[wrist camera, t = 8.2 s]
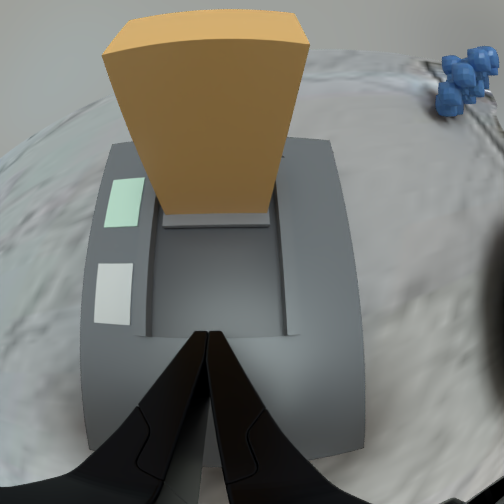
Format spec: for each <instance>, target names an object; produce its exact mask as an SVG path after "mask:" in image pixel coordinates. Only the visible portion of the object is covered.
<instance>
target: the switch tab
mask: <svg viewBox="0 0 504 504" xmlns="http://www.w3.org/2000/svg"><path fill="white" fill-rule="evenodd" d="M309 47H310V43H309V41H308V39H307V37H306V35H305V33H304V31H303V29H302V27H301V25H300V23H299V21H298V20H297V18H296V16H295V14H294V13H287V12H277V11H264V10H243V9H242V10H240V9H239V10H238V9H223V10H222V9H221V10H198V11H188V12H187V11H186V12H177V13H169V14H162V15H155V16H150V17H144V18H139V19H134V20H129V21H128V22H127V24H126V25H125V26H124V27H123V28H122V30H121V31H120V32H119V33H118V34H117V36H116V37H115V38H114V39H113V41H112V42H111V43H110V45H109V46H108V47H107V49H106V50H105V51H104V53H103V54H102V58H103V61H104V63H105V67H106V70H107V73H108V76H109V79H110V82H111V84H112V87H113V90H114V93H115V96H116V98H117V101H118V104H119V106H120V109H121V112H122V114H123V117H124V120H125V122H126V125H127V127H128V130H129V132H130V135H131V137H132V140H133V142H134V145H135V147H136V150H137V152H138V154H139V157H140V159H141V162H142V164H143V166H144V169H145V171H146V173H147V176H148V178H149V180H150V182H151V185H152V187H153V189H154V191H155V194H156V196H157V198H158V200H159V202H160V205H161V207H162V209H163V211H164V213H163V223H162V226H163V228H203V227H269V226H270V219H269V204H270V200H271V196H272V192H273V188H274V184H275V180H276V177H277V173H278V169H279V165H280V161H281V157H282V153H283V149H284V145H285V142H286V138H287V134H288V130H289V126H290V122H291V118H292V114H293V110H294V106H295V102H296V98H297V94H298V90H299V86H300V82H301V78H302V75H303V71H304V67H305V63H306V59H307V55H308V51H309Z"/></svg>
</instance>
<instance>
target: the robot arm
mask: <svg viewBox="0 0 504 504" xmlns="http://www.w3.org/2000/svg"><path fill="white" fill-rule="evenodd" d="M210 400H211V407H212V414H213V420H214V426H215V432H216V438H217V444H218V449H219V455H220V460H221V465H222V471H223V476H224V480H225V485H226V490H227V494H228V499H229V504H371V503H369V502H367V501H364V500H362V499H360V498H357V497H355V496H353V495H351V494H349V493H347V492H344V491H343V490H341V489H339V488H338V487H336V486H335V485H333V484H332V483H331V482H330V481H328V480H327V479H326V478H325V477H324V476H323V475H322V474H321V473H320V472H319V471H318V470H317V469H316V468H315V467H314V466H313V465H312V464H311V463H310V462H309V461H308V460H307V459H306V458H305V457H304V456H303V455H302V454H301V453H300V451H299V450H298V449H297V448H296V447H295V446H294V445H293V444H292V443H291V441H290V440H289V439H288V438H287V437H286V435H285V434H284V433H283V432H282V430H281V429H280V427H279V426H278V424H277V423H276V422H275V420H274V419H273V417H272V416H271V414H270V412H269V411H268V409H266V406H265V405H264V403H263V401H262V400H261V398H260V396H259V395H258V393H257V391H256V390H255V388H254V386H253V385H252V383H251V381H250V380H249V378H248V376H247V375H246V373H245V371H244V369H243V368H242V366H241V364H240V362H239V361H238V359H237V357H236V355H235V354H234V352H233V350H232V348H231V346H230V345H229V343H228V341H227V339H226V337H225V336H224V334H223V332H222V331H209V332H208V331H194V332H193V333H192V335H191V336H190V337H189V339H188V340H187V341H186V343H185V344H184V345H183V346H182V348H181V349H180V350H179V352H178V353H177V354H176V355H175V357H174V358H173V359H172V361H171V362H170V363H169V364H168V366H167V367H166V368H165V370H164V371H163V372H162V374H161V375H160V376H159V377H158V379H157V380H156V381H155V383H154V384H153V385H152V386H151V388H150V389H149V390H148V392H147V393H146V394H145V395H144V397H143V398H142V399H141V401H140V402H139V403H138V406H139V407H138V406H136V407H135V408H134V409H133V411H132V412H131V413H130V414H129V416H128V417H127V418H126V419H125V420H124V422H123V423H122V424H121V425H120V426H119V427H118V429H117V430H116V431H115V432H114V433H113V434H112V435H111V436H110V437H109V438H108V439H107V440H106V441H105V442H104V443H103V444H102V445H101V446H100V447H99V448H97V449H96V450H95V451H94V452H93V453H92V454H91V455H90V456H89V457H88V458H87V459H86V460H85V461H84V462H83V463H82V464H80V465H79V466H78V467H77V468H75V469H74V470H72V471H71V472H69V473H67V474H64V475H62V476H58V477H54V478H50V479H46V480H42V481H38V482H33V483H28V484H23V485H18V486H12V487H0V504H198V500H199V490H200V481H201V472H202V463H203V454H204V445H205V437H206V429H207V421H208V413H209V405H210ZM440 504H504V476H502V477H501V478H499V479H498V480H496V481H495V482H494V483H492V484H491V485H489V486H488V487H487V488H485V489H484V490H482V491H481V492H480V493H478V494H477V495H475V496H474V497H473V498H471V499H470V500H468V501H467V502H463V501H461V500H459V499H456V498H450V499H448V500H446V501H444V502H442V503H440Z"/></svg>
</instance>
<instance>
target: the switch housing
mask: <svg viewBox="0 0 504 504" xmlns="http://www.w3.org/2000/svg"><path fill="white" fill-rule="evenodd" d="M163 213H164V211H163V209H162V207H161V205H160V202H159V200H158V198H157V196H156V194H155V191H154V189H153V187H152V185H151V182H150V180H149V178H148V176H147V173H146V171H145V169H144V166H143V164H142V162H141V159H140V157H139V154H138V152H137V150H136V147H135V145H134V142H125V143H118V144H112V147H111V150H110V153H109V156H108V159H107V163H106V166H105V170H104V173H103V177H102V181H101V185H100V189H99V193H98V197H97V201H96V206H95V211H94V215H93V220H92V225H91V231H90V237H89V243H88V249H87V256H86V263H85V271H84V280H83V291H82V303H81V322H80V369H81V388H82V400H83V410H84V418H85V426H86V433H87V439H88V445H89V449H90V450H93V451H95V450H96V449H97V448H99V447H100V446H101V445H102V444H103V443H104V442H105V441H106V440H107V439H108V438H109V437H110V436H111V435H112V434H113V433H114V432H115V431H116V430H117V429H118V427H119V426H120V425H121V424H122V423H123V422H124V420H125V419H126V418H127V417H128V416H129V414H130V413H131V412H132V411H133V409H134V408H135V407H136V406H138V403H139V402H140V401H141V399H142V398H143V397H144V395H145V394H146V393H147V392H148V390H149V389H150V388H151V386H152V385H153V384H154V383H155V381H156V380H157V379H158V377H159V376H160V375H161V374H162V372H163V371H164V370H165V368H166V367H167V366H168V364H169V363H170V362H171V361H172V359H173V358H174V357H175V355H176V354H177V353H178V352H179V350H180V349H181V348H182V346H183V345H184V344H185V343H186V341H187V340H188V339H189V337H190V336H191V335H192V333H193V332H194V331H208V332H209V331H222V332H223V334H224V336H225V337H226V339H227V341H228V343H229V345H230V346H231V348H232V350H233V352H234V354H235V355H236V357H237V359H238V361H239V362H240V364H241V366H242V368H243V369H244V371H245V373H246V375H247V376H248V378H249V380H250V381H251V383H252V385H253V386H254V388H255V390H256V391H257V393H258V395H259V396H260V398H261V400H262V401H263V403H264V405H265V406H266V409H268V411H269V412H270V414H271V416H272V417H273V419H274V420H275V422H276V423H277V424H278V426H279V427H280V429H281V430H282V432H283V433H284V434H285V435H286V437H287V438H288V439H289V440H290V441H291V443H292V444H293V445H294V446H295V447H296V448H297V449H298V450H299V451H300V453H301V454H302V455H303V456H304V457H305V458H306V459H307V460H312V459H318V458H323V457H328V456H333V455H338V454H342V453H346V452H351V451H355V450H358V449H362V448H364V437H365V364H364V345H363V330H362V318H361V308H360V298H359V289H358V281H357V274H356V266H355V259H354V253H353V246H352V240H351V234H350V229H349V223H348V218H347V213H346V208H345V203H344V198H343V193H342V189H341V184H340V180H339V175H338V171H337V167H336V163H335V159H334V155H333V151H332V147H331V143H330V141H329V140H319V139H308V138H294V137H287V138H286V142H285V145H284V149H283V153H282V157H281V161H280V165H279V169H278V173H277V177H276V180H275V184H274V188H273V192H272V196H271V200H270V204H269V219H270V226H269V227H203V228H163V226H162V223H163ZM138 407H139V406H138ZM202 467H222V465H221V460H220V455H219V449H218V444H217V438H216V432H215V426H214V420H213V414H212V407H211V400H210V405H209V413H208V421H207V429H206V437H205V445H204V454H203V463H202Z"/></svg>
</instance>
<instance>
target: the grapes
mask: <svg viewBox="0 0 504 504" xmlns="http://www.w3.org/2000/svg"><path fill="white" fill-rule="evenodd" d="M467 55H468V57H467V58H465V59H460V58H459V57H457V56H454V55H449V56H444V57H442V69H443V71H444V73H445V74H446V75H447V80H446V82H441V83H439V87H438V95H436V102H435V106H436V110H437V112H438V114H439V115H441V116H446V117H448V116H457V115H461V114H463V110H464V104H476V97H484V89H489V77H488V75H498V68H499V58H498V54H497V52H496V50H495V49H493V48H492V47H489V46H482V47H477V48H473V49H468V50H467Z"/></svg>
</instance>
